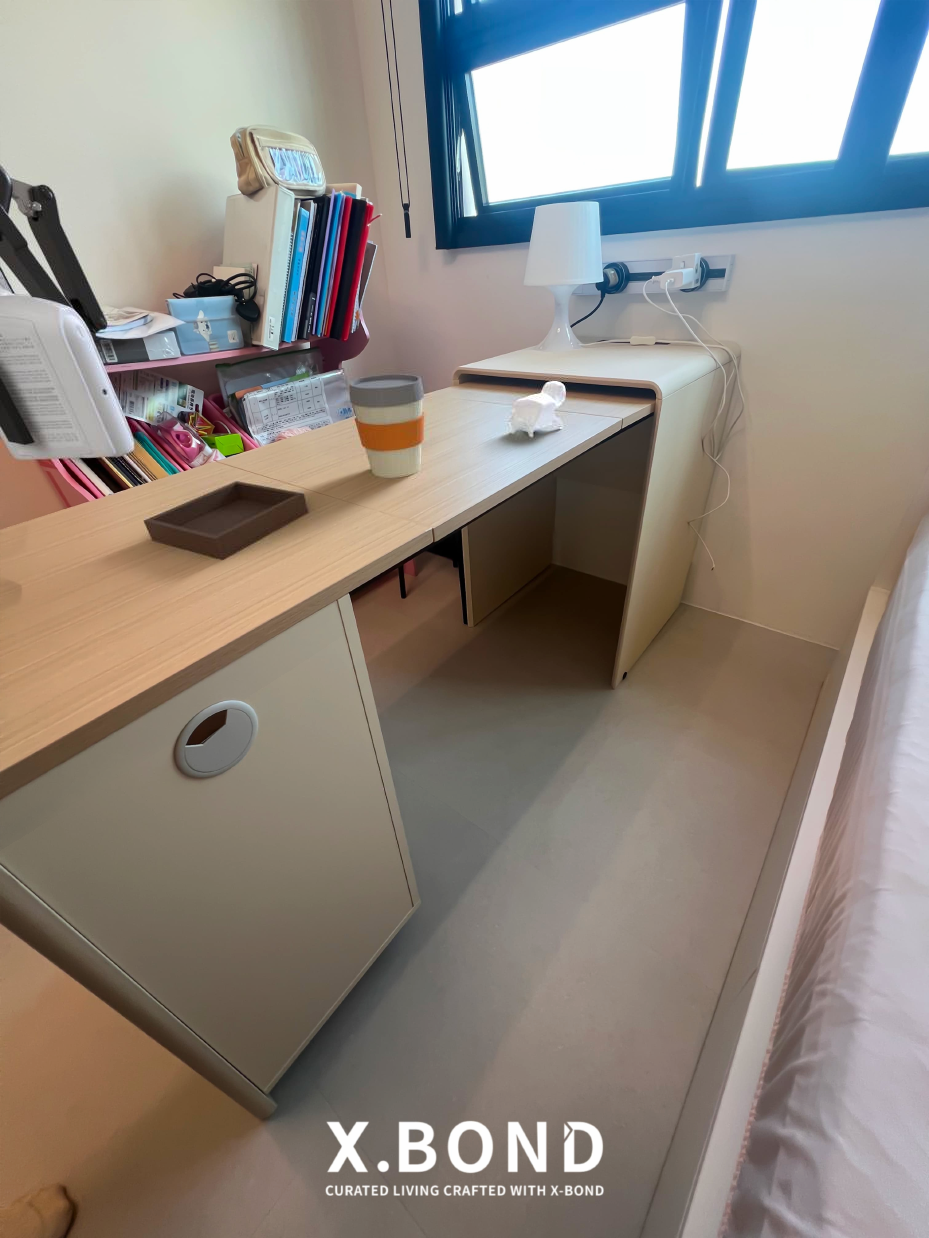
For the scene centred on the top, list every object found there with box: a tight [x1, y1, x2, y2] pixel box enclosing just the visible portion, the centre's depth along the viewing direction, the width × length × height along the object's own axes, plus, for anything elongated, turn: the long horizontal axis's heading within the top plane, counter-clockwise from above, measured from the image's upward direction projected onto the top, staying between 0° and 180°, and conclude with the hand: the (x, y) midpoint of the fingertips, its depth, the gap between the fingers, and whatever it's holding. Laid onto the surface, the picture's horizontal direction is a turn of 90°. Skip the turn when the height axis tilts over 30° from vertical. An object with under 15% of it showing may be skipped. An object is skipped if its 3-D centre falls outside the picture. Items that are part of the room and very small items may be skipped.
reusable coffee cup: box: [348, 373, 425, 479], centre depth 89 cm, size 12×13×15 cm
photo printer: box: [0, 295, 135, 461], centre depth 43 cm, size 10×4×12 cm, turn 90°
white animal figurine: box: [507, 380, 567, 438], centre depth 109 cm, size 9×8×15 cm
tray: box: [143, 480, 309, 561], centre depth 74 cm, size 17×15×3 cm
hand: (64, 430), depth 45 cm, fingers closed on photo printer, 6 cm apart
